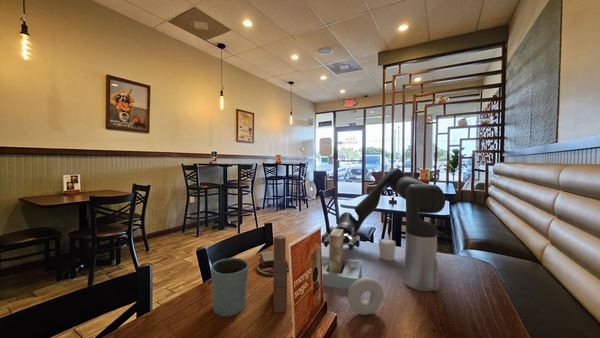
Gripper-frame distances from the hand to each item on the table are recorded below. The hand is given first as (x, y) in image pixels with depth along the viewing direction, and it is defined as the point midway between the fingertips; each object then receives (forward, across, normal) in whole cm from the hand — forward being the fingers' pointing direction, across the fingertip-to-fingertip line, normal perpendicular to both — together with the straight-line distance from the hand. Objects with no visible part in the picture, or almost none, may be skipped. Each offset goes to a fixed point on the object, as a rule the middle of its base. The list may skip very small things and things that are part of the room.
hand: (337, 245), depth 90 cm
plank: (+2, 0, +10) cm, 11 cm away
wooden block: (+22, -13, +11) cm, 28 cm away
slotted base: (+2, 0, +10) cm, 11 cm away
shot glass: (-22, +17, +11) cm, 30 cm away
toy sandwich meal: (+3, -24, +11) cm, 27 cm away
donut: (+20, +11, +11) cm, 25 cm away
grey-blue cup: (+29, -25, +11) cm, 40 cm away
